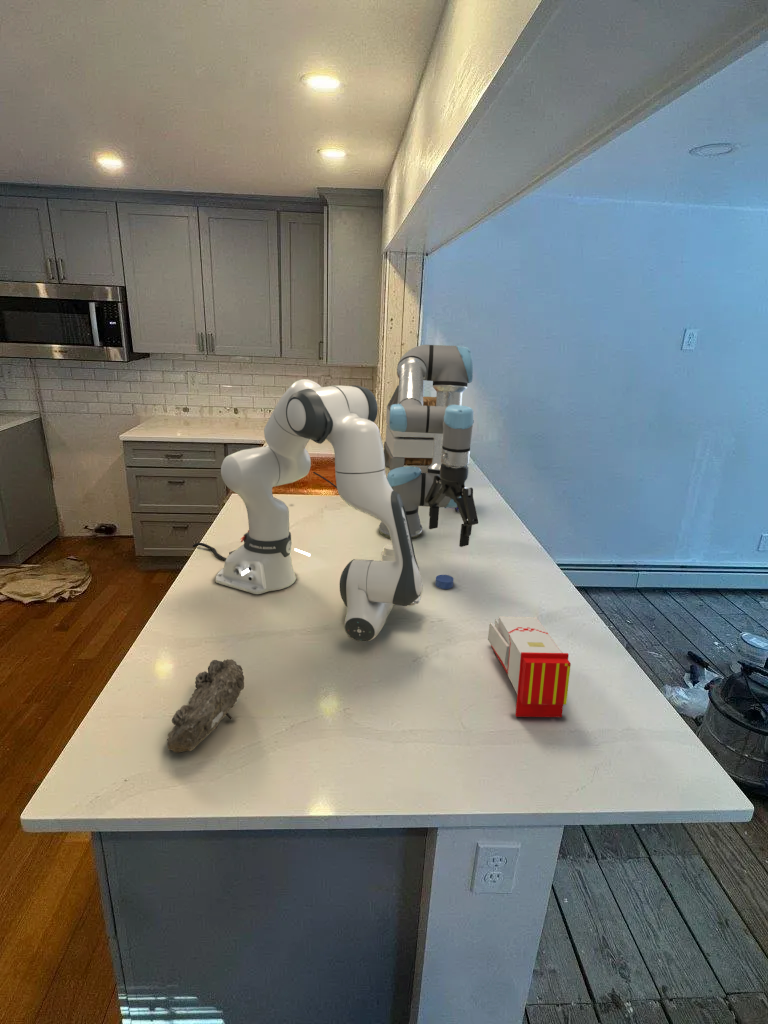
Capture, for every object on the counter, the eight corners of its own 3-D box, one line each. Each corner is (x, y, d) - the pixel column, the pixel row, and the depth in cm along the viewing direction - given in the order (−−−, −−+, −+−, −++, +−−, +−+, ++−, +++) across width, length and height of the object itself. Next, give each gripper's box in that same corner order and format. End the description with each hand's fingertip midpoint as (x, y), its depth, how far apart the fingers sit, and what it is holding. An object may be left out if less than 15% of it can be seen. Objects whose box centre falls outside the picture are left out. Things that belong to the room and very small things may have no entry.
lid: (436, 588, 162) (436, 582, 161) (434, 580, 167) (434, 574, 166) (454, 589, 162) (454, 582, 161) (451, 581, 167) (452, 574, 166)
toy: (534, 602, 136) (579, 659, 107) (529, 653, 139) (572, 723, 110) (484, 601, 136) (516, 658, 107) (480, 652, 139) (510, 722, 109)
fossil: (192, 660, 117) (244, 628, 112) (224, 691, 120) (276, 661, 115) (142, 746, 98) (202, 712, 93) (182, 779, 101) (242, 748, 96)
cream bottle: (390, 592, 158) (393, 541, 153) (400, 600, 155) (403, 548, 149) (376, 596, 156) (378, 545, 151) (385, 604, 152) (388, 551, 147)
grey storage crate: (382, 463, 289) (386, 382, 275) (445, 464, 293) (451, 384, 279) (390, 482, 257) (394, 392, 243) (460, 483, 261) (468, 394, 247)
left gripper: (418, 593, 138) (428, 569, 150) (338, 581, 142) (354, 559, 155) (417, 616, 140) (426, 591, 153) (338, 603, 144) (354, 579, 157)
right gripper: (415, 454, 160) (411, 523, 168) (475, 479, 141) (467, 556, 148) (436, 451, 164) (431, 519, 172) (497, 475, 145) (488, 550, 152)
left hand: (389, 574), depth 154 cm, fingers open, 5 cm apart
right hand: (448, 536), depth 160 cm, fingers open, 13 cm apart
